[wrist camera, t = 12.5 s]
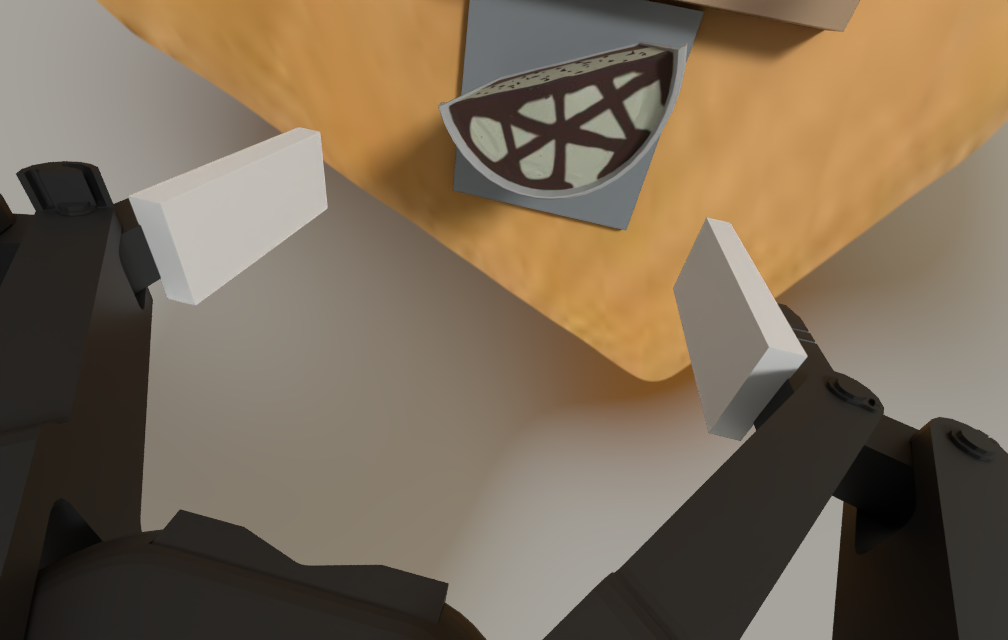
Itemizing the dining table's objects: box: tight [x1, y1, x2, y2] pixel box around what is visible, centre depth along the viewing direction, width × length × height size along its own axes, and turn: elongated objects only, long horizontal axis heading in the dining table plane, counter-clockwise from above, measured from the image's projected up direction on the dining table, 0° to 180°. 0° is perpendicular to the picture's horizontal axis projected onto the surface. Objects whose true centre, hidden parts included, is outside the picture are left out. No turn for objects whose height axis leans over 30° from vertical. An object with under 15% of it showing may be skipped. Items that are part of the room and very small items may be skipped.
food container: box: [438, 42, 687, 200], centre depth 26 cm, size 12×6×10 cm, turn 103°
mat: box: [453, 0, 704, 230], centre depth 30 cm, size 14×14×1 cm
